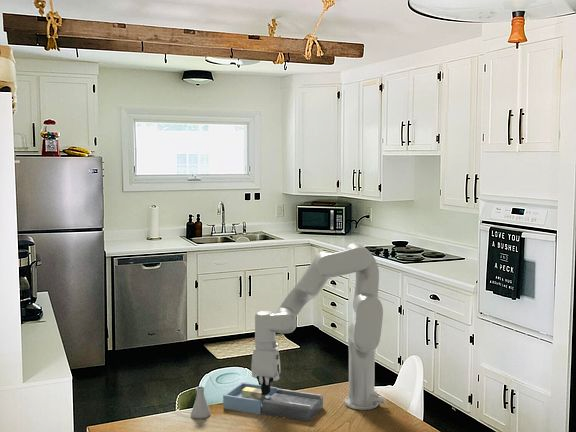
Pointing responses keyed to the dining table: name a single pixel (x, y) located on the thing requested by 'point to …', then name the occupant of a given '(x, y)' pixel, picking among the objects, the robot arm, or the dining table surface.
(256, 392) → the beige square block
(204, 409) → the flask
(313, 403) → the slot block
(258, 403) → the tray
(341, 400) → the dining table surface
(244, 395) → the olive yellow block
